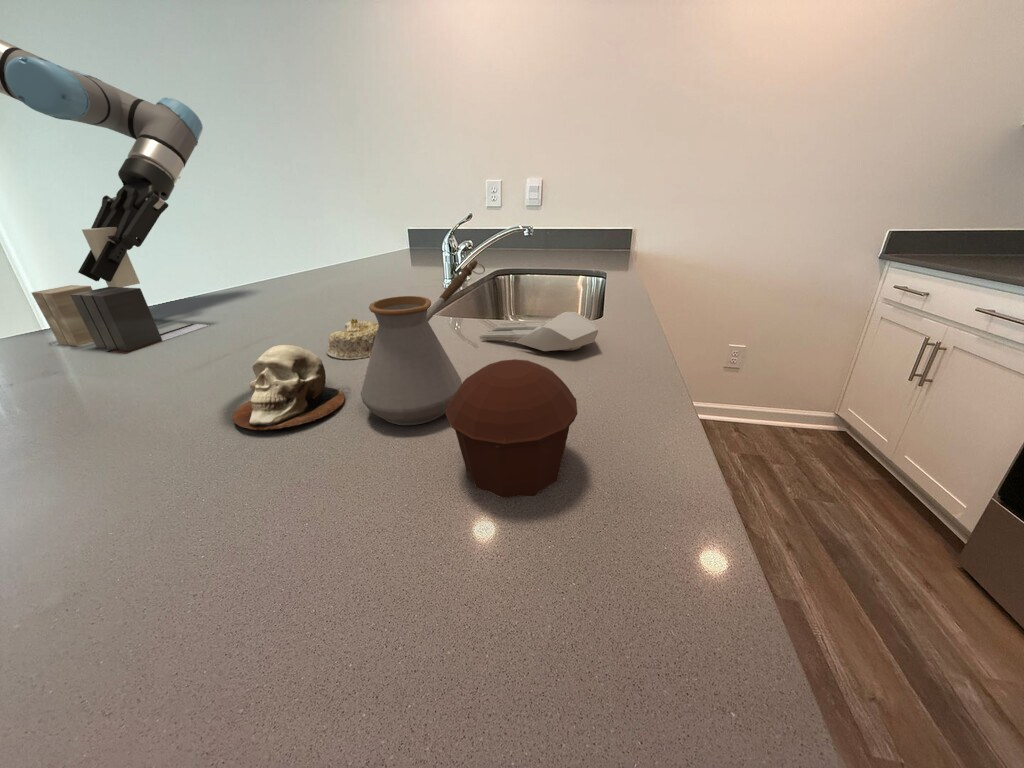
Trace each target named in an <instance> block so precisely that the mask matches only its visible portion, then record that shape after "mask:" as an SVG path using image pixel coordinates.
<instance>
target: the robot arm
mask: <svg viewBox="0 0 1024 768" xmlns="http://www.w3.org/2000/svg"><path fill="white" fill-rule="evenodd" d="M0 94H3V95H6V96H7V97H10V98H12V99H14V100H17V101H19V102H21V103H23V104H24V105H26V106H27V107H28V108H30V109H32V110H33V111H35V112H38V113H40V114H42V115H46V116H49V117H51V118H54V119H57V120H61V121H62V120H63V121H72V122H77V123H82V124H86V125H91V126H96V127H99V128H104V129H108V130H110V131H113V132H116V133H119V134H121V135H124V136H126V137H129V138H131V139H134V140H135V141H134V143H133V145H132V146H131V148H130V150H129V151H128V153H127V157H126V158H125V160H124V161H123V163H122V164H121V166H120V168H119V170H118V173H117V174H118V178H119V179H120V181H121V183H122V187H120V188H119V190H118V191H117V192H116V195H115V196H114V197H111V196H108V194H107V195H104V196H103V197H102V199H101V206H100V207H99V209H98V211H97V214H96V217H95V219H94V221H93V224H92V226H91V227H90V229H93V228H105V227H116V228H117V231H116V233H115V235H113V236H108V238H109V239H111V240H112V241H114V242H115V243H113V242H111V241H107V243H106V245H105V247H104V248H103V250H102V252H101V254H100V256H99V257H98V259H97V261H96V260H95V257H94V255H93V253H92V251H91V249H90V250H89V252H88V253H87V255H86V257H85V259H84V261H83V262H82V264H81V266H80V268H79V269H78V271H77V273H78V274H80V275H82V276H84V277H86V278H88V279H90V280H93V281H94V282H100V280H103V281H105V282H106V281H107V282H111V280H112V278H113V276H114V275H115V273H116V271H117V269H118V267H119V265H120V263H121V261H122V259H123V258H124V256H125V254H126V252H127V253H128V251H131V250H132V249H133V248H134V247H136V248H140V247H141V246H142V245H143V243H144V241H145V240H146V239H147V237H148V235H149V233H150V232H151V231H152V229H153V227H154V226H155V224H156V222H157V221H158V219H159V218H160V216H161V215H162V213H164V212H165V211H166V210H167V209H168V207H169V203H168V202H166V201H168V200H169V199H170V196H171V195H172V192H173V190H174V189H175V184H177V182H178V180H180V179H181V174H182V172H183V170H184V169H185V167H186V165H187V163H188V161H189V159H190V157H191V156H192V154H193V152H194V150H195V148H196V146H198V143H199V140H200V137H201V135H202V133H203V129H204V128H203V123H202V120H201V119H200V117H199V116H198V114H197V113H196V112H195V111H194V110H193V109H192V108H190V107H189V106H188V105H187V104H185V103H184V102H182V101H180V100H179V99H176V98H173V97H172V98H170V97H169V98H168V97H161V98H160V99H159V100H158V101H157V102H156V103H155V104H154V103H153V102H150V101H147V100H145V99H142V98H139V97H137V96H135V95H133V94H131V93H128V92H127V91H125V90H123V89H121V88H117V87H116V86H113V85H112V84H110V83H108V82H105V81H103V80H102V79H99V78H97V77H95V76H92V75H90V74H85V73H83V72H81V71H79V70H70V69H68V68H66V67H63V66H61V65H59V64H56V63H54V62H52V61H50V60H48V59H46V58H43V57H41V56H39V55H36V54H34V53H32V52H30V51H27V50H25V49H22V48H20V47H18V46H16V45H15V44H12V43H9V42H7V41H5V40H3V39H0Z"/></svg>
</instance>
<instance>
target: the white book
mask: <svg viewBox="0 0 1024 768" xmlns="http://www.w3.org/2000/svg"><path fill="white" fill-rule="evenodd" d="M116 231H117V228H116V227H105V228H93V229H91V228H83V229H81V232H82V234H83V236H84V238H85V240H86V242H87V244H88V246H89V249H90V250H91V251H92V253H93V255H94V257H95V260H96V261H97V259H98V257H99V256H100V254H101V252H102V250H103V248H104V247H105V245H106V243H107V241H111V242H113V243H115V242H114V241H112V240H111V239H109V238H108V236H113V235H115V233H116ZM105 283H106V286H107V287H126V288H127V287H130V286H136V285H139V284H141V282H140V279H139V277H138V275H137V273H136V270H135V268H134V266H133V263H132V260H131V259H130V256H129V254H128V251H127V252H126V254H125V256H124V258H123V259H122V261H121V263H120V265H119V267H118V269H117V271H116V273H115V275H114V276H113V278H112V280H111V282H107V281H105Z"/></svg>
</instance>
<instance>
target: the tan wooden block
mask: <svg viewBox="0 0 1024 768" xmlns="http://www.w3.org/2000/svg"><path fill="white" fill-rule="evenodd" d="M90 290H93V288H92V286H91V285H78V284H76V285H75V284H70V285H65V286H59V287H54V288H53V287H52V288H48V289H42V290H38V291H32V292H31V296H32V297H33V299H34V301H35V303H36V304H37V306H38V308H39V310H40V313H42V316H43V317H44V319H45V321H46V323H47V324H48V327H49V329H50V330H51V332H52V334H53V336H54V337H55V339H56V341H57V343H58V345H60V346H61V345H62V346H71V347H72V346H73V347H81V346H83V345H87V344H90V343H94V341H93V339H92V337H91V335H90V333H89V331H88V329H87V327H86V325H85V323H84V321H83V319H82V317H81V315H80V313H79V311H78V309H77V307H76V305H75V303H74V301H73V299H72V297H71V294H75V293H80V292H85V291H90Z"/></svg>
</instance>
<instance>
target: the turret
mask: <svg viewBox="0 0 1024 768" xmlns="http://www.w3.org/2000/svg"><path fill="white" fill-rule="evenodd" d="M598 333H599V329H598V327H597V326H596V324H595V323H594V321H592V320H590V319H588V318H587V317H585V316H583V315H581V314H580V313H578V312H576V311H564V312H561V313H560V314H558V315H555V316H554V317H551V318H549V319H547V320H546V321H531V322H530V321H529V322H528V321H525V322H518V323H517V322H516V323H500V324H498V325H496V326H495V327H493V328H492V330H487V331H485V332H484V333H482V334H480V335H479V336H478V338H479V339H480V340H482V341H487V342H488V341H508V342H514V343H517V344H518V345H522V346H527V347H529V348H533V349H537V350H539V351H542V352H550V351H564V352H568V351H569V352H570V351H575V350H578V349H580V348H581V347H582V346H587V345H588V344H591V343H594V342H595V341H596V338H597V336H598Z"/></svg>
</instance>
